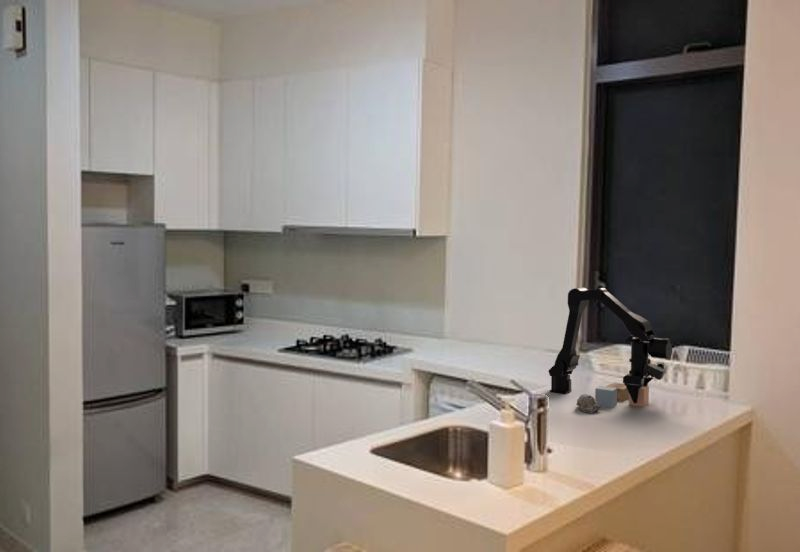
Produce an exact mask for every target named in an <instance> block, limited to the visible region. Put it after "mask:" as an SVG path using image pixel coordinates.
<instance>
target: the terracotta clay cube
mask: <svg viewBox="0 0 800 552" xmlns="http://www.w3.org/2000/svg"><path fill="white" fill-rule="evenodd" d="M649 392H650V386H642V387H641V388H640V389H639V395H638V400H637V403H633V401H632V398H631V396H630V394H629V399H628V405H630V406H636V407H646V406H647V405H649V400H650V399H649V398H650V397H649V396H650V395H649Z"/></svg>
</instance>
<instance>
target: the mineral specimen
mask: <svg viewBox="0 0 800 552" xmlns="http://www.w3.org/2000/svg"><path fill="white" fill-rule="evenodd" d="M576 401H577V402H576V403H575V404H576V406H577V407H580V409H579V411H580V412H583V413H587V412H588V413H587V414H592V413H595V412H596V411H597V412H598V411H599V412H600V410H601V408H602V406H600V405H599V404H598V403H597V402H596V400H595V396H594V397H593V396H592V395H590V394H587V393H584V394H580V396H579V398H578V399H577V400H576ZM599 412H598V413H599Z"/></svg>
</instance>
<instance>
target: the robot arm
mask: <svg viewBox="0 0 800 552" xmlns="http://www.w3.org/2000/svg"><path fill="white" fill-rule="evenodd" d="M592 300H597V301H598V302H599V303H601V304H602V305H603V306H604V307H605V308H607V309H608V310H609V311H610V312H611V313H612V314H614V315H615V317H617V318H618V319H619V320H620V321H621V322H622V324H623V326H624V327H625V329H626V330H627V331H628V333H629V334H630V335H629V337H627V338H626V339H625V342H626V343H630V345H631V346H630V347H631V348H630V358H629V359H628V361H629V363H630V369H629V370H628V373H627V374H625V375H624V376H622V384H624V385H625V386H626V388H627V390H628V392H629V394H630V396H631V398H632V401H633V403H637V400H638V395H639V389H640V388H641V387H642V386H648V385H649V383H650V382H651V381H652V380H654V378H655V379H656V380H659V381H661V380H663V378H664V376H665V374H666V373H667V372H666V371H667V369H666V368H665V364H664V363H662V362H660V363H657V364H656V363H655V364H653V363H652V360H651V359H650V358H649V356H651V358H654V359H665V360H670V359H671V358H672V354H673V346H672V343H671V341H670V338H659V337H658V336H657V334H656V333H655V332H654V330H653V328H652V324H651V323H650V321H649V320H647V318H644V317H642V316H641V315H639V314H636V313H634V312H633V311H631V310H630V309H629V308H628V307H626V305H624V304H623V303H621V302H620V300H618V299H617V298H616V297H615V296H614V295H612V294H611V293H610V292H609V290H608V289H606V288H605V287H599V288H595V289H587V288H586V287H575V288H572V289H570V290H569V291H568V292H567V308H568V310H569V311H568V316H567V321H566V327H565V332H564V336H563V343H562V347H561V349H560V351H559V352H558V354H557V355H556V359H555V361H554V364H553V366H551V367H550V369H548V374H549V376H550V379H551V380H550V387H551V389H549V392H550V393H558V394H567V393H570V392H572V390H573V389H572V379H571V375H572V374H573V371H574V370H575V369H577V366H579V360H580V357H581V356H580V354H577V352H576V351H577V350H576V348H577V343H578V337H579V331H580V328H581V327H580V326H581V322H582V315H583V313H584V311H585V310H586V308H587V306H588V304H589V301H592Z"/></svg>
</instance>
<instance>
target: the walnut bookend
mask: <svg viewBox="0 0 800 552" xmlns="http://www.w3.org/2000/svg"><path fill="white" fill-rule="evenodd" d="M604 387H612V388H617V402H625V401H626V400H629V392H628V390H627V388H626V386H625V385H624V383H619V382H612V383H610V384H608V385H606V386H604Z"/></svg>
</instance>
